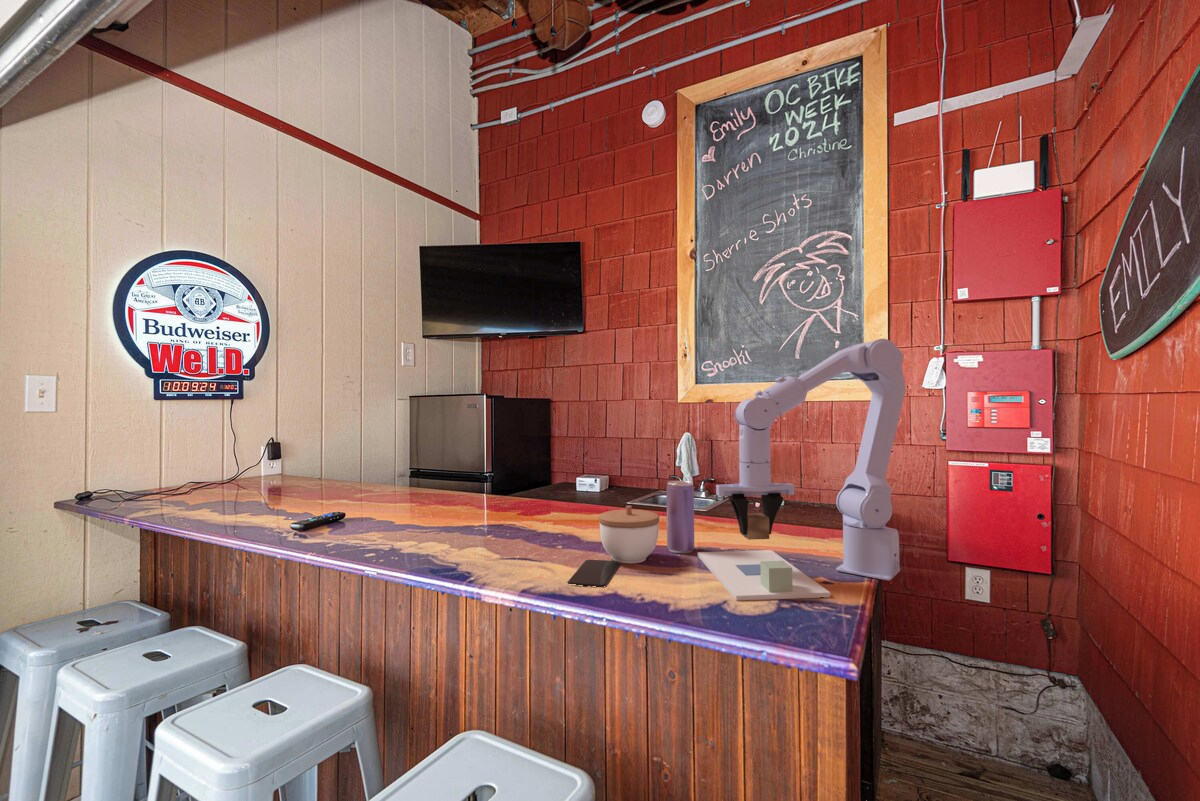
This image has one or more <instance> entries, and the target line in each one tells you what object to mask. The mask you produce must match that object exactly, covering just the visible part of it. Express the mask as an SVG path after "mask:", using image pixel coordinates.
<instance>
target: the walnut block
mask: <svg viewBox="0 0 1200 801" xmlns="http://www.w3.org/2000/svg"><path fill="white" fill-rule="evenodd" d="M740 534H741V535H742V536H743V537H744V538H746V540H750V541H751V540H770V534H769V517H767V516H765V515H764V514H763V512H762V513H761V512H760V513H759V512H757V513H756V512H754V513H751V512H750V513H747V535H743V534H742V533H740Z"/></svg>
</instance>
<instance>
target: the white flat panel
mask: <svg viewBox="0 0 1200 801" xmlns="http://www.w3.org/2000/svg"><path fill="white" fill-rule="evenodd" d="M697 557H698V558H699V560H701V562H702V563H703V564H704V565H705V566H706V568H707V569H708V570H709V571H710V572H711V573H712V574H713V575H714V577H715V578H716V579H717V580H718V581H719V583H720V584H722V586H723V587H724V588H725V589H726V591H727V592H729V594H730V595H731V596H732V597H733V599H734V600H735V601H766V600H767V601H768V600H789V599H790V600H791V599H817V598H818V599H819V598H820V597H824V598H831V592H830V591H829V590H828V589H826V588H825V587H823V586H822V585H820V584H819V583H818V582H816V581H815V580H813V579H812V578H811V577H810V576H808V575H806V574H805V573H804V572H802V571H801V570H800V569H798V568H797V567H795V566H794V565H793V564H791V563H790V562H788V561H787V560H786V559H784V558H783V557H782V556H780V555H778V554H777V553H776V552H774V551H773V550H772V549H765V550H763V549H761V550H760V549H759V550H756V549H755V550H727V551H725V550H724V551H697ZM760 561H784V562H785V563H787V564H788V565H789V566H791V567H792V591H790V592H768V591H767V590H766V589H765V588H764V587H763V586H762V585H761V568H760ZM820 599H821V598H820Z"/></svg>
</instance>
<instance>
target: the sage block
mask: <svg viewBox="0 0 1200 801" xmlns="http://www.w3.org/2000/svg"><path fill="white" fill-rule="evenodd" d="M760 568H761V585H762V586H763V587H764V588H765V589H766V590H767V591H768V592H790V591H792V567H791V566H789V565H788V564H787V563H785V562H784V561H760Z"/></svg>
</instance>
